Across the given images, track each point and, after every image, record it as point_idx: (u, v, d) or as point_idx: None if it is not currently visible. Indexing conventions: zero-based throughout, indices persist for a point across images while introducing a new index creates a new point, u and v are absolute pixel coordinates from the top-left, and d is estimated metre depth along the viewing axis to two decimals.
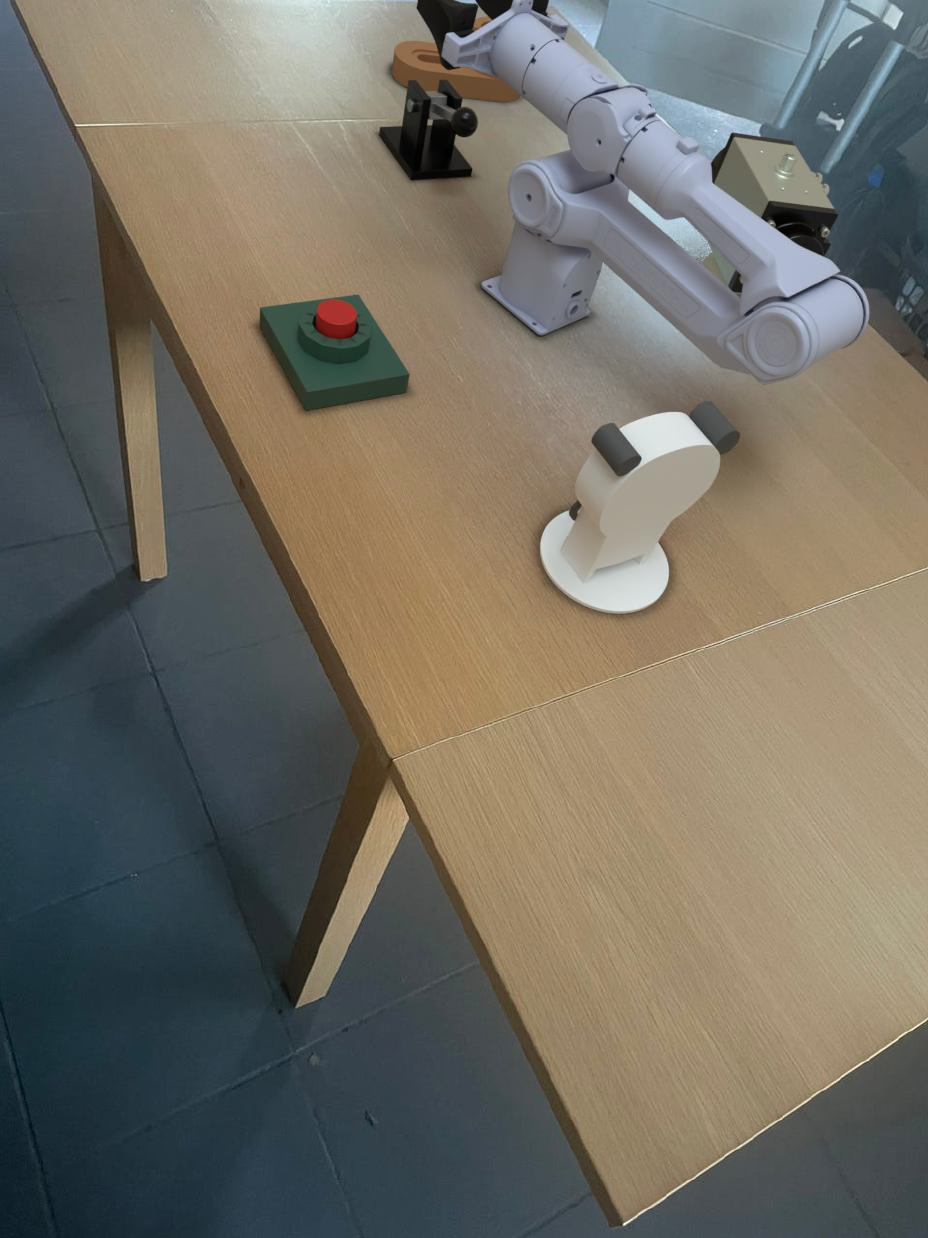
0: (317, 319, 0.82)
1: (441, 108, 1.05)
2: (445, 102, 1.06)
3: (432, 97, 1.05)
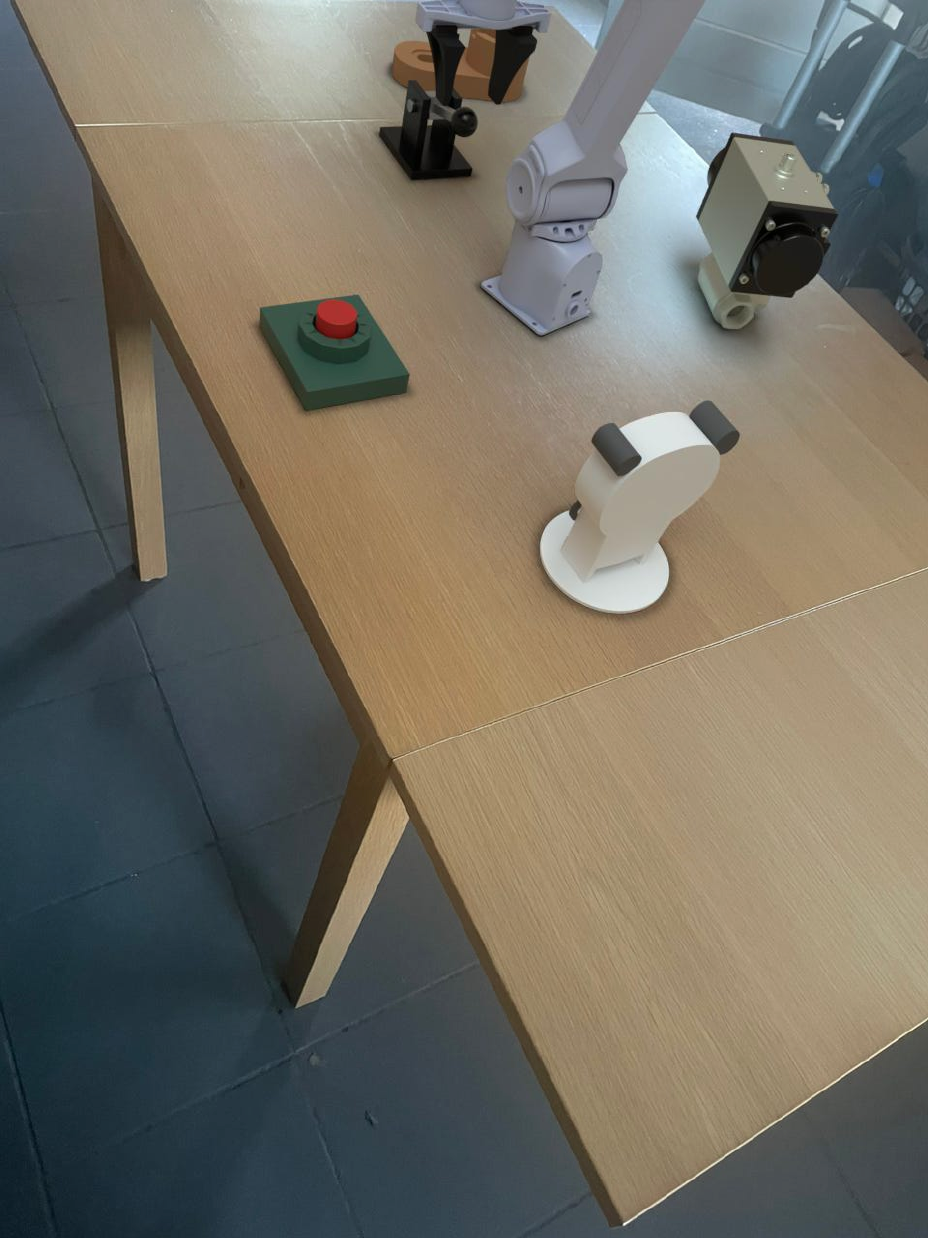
0: (317, 319, 0.82)
1: (441, 108, 1.05)
2: None
3: (432, 97, 1.05)
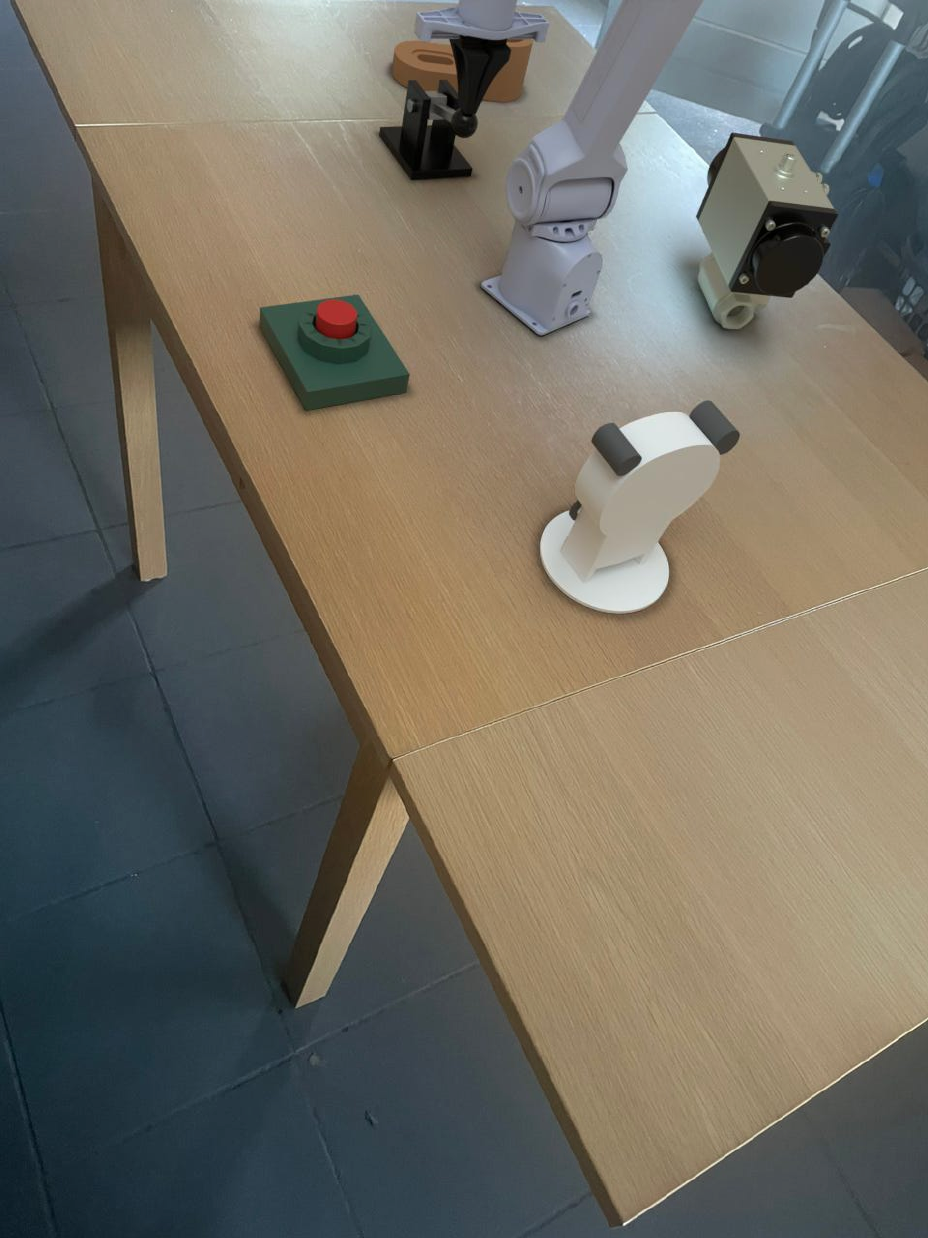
0: (317, 319, 0.82)
1: (441, 108, 1.05)
2: (445, 102, 1.06)
3: (432, 97, 1.05)
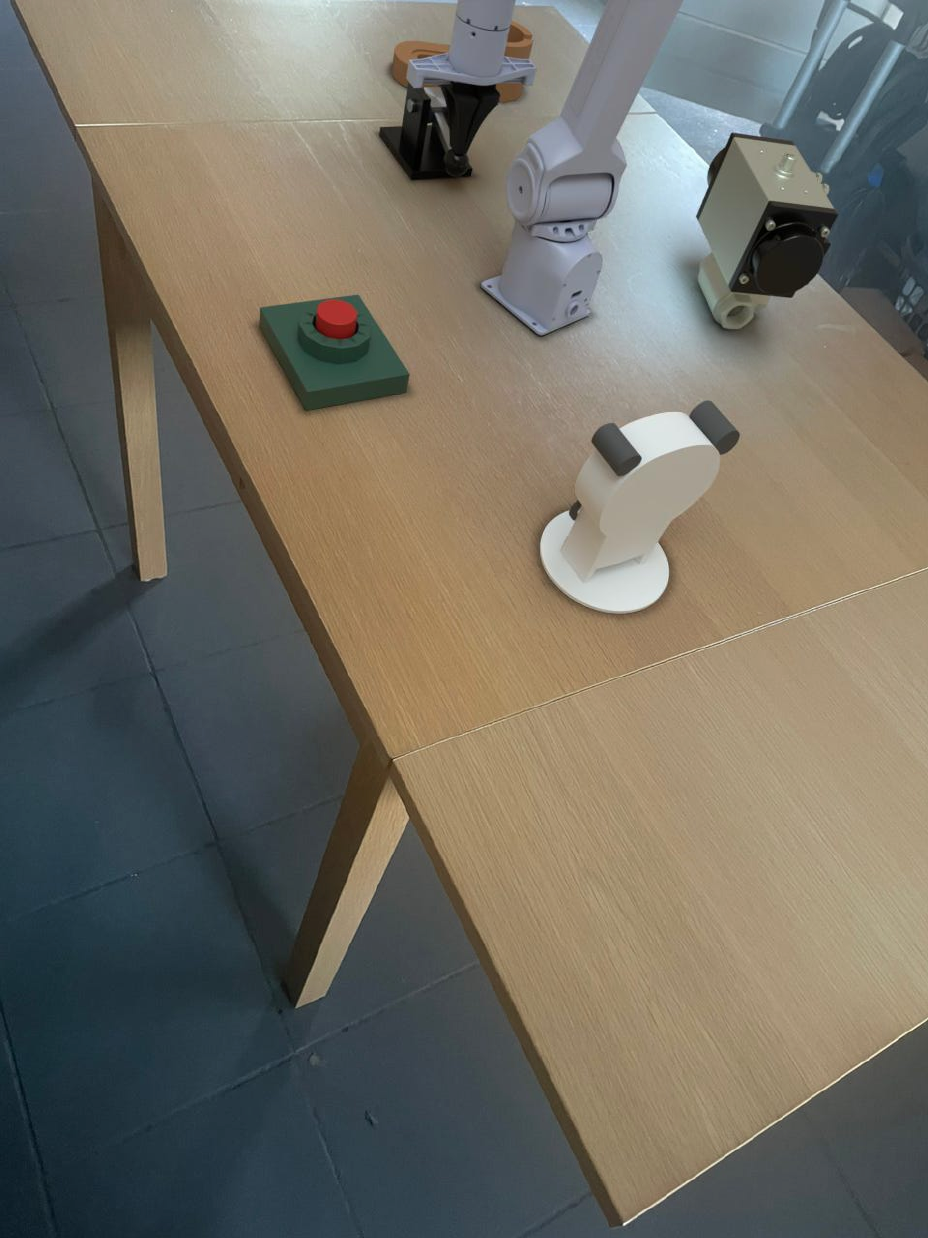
0: (317, 319, 0.82)
1: (439, 126, 1.06)
2: (445, 111, 1.07)
3: (433, 107, 1.06)
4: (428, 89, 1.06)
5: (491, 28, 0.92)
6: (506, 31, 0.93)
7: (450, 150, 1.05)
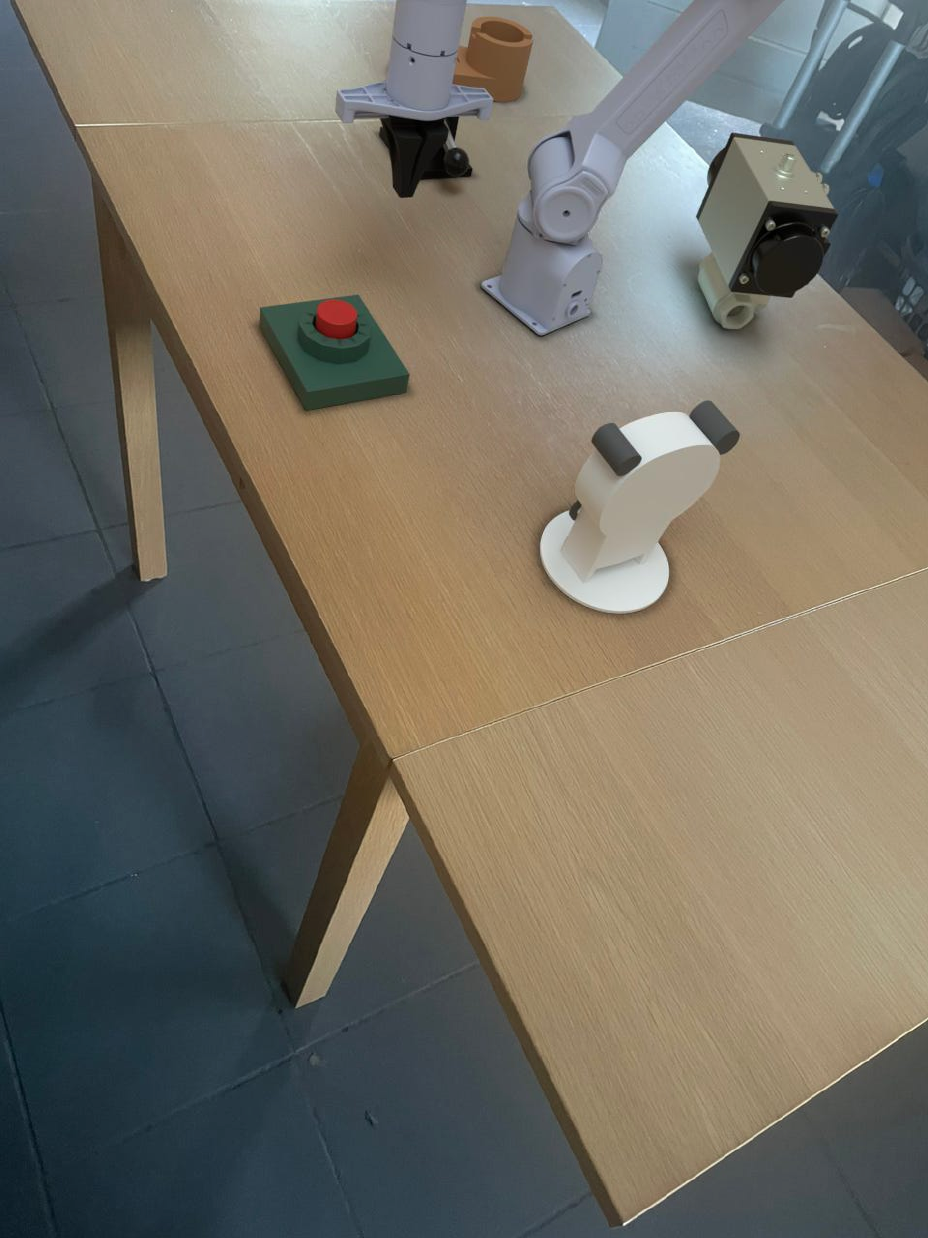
0: (317, 319, 0.82)
1: None
2: None
3: None
4: None
5: (457, 47, 0.78)
6: (452, 57, 0.78)
7: (450, 150, 1.05)
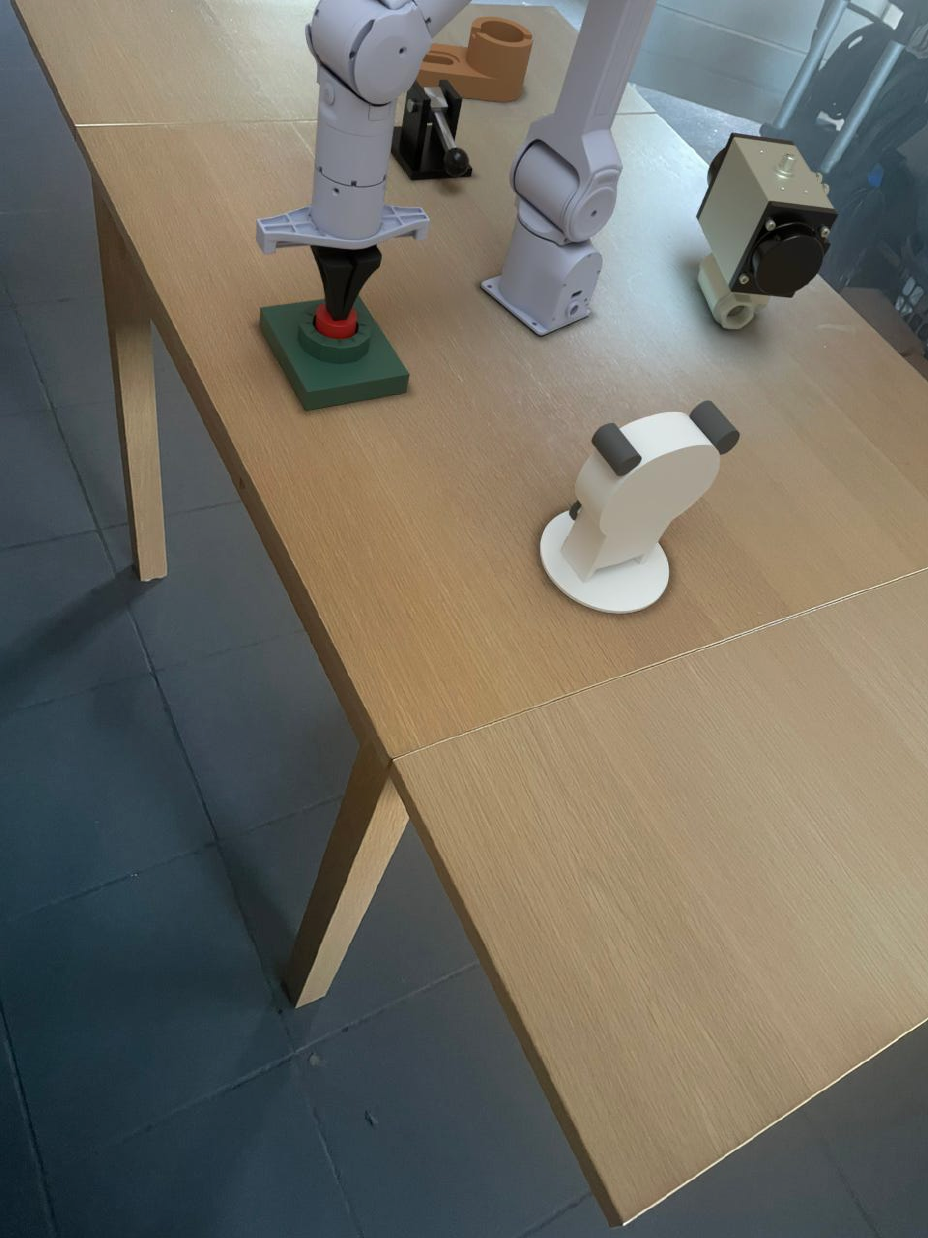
0: (317, 321, 0.82)
1: (439, 126, 1.06)
2: (445, 111, 1.07)
3: (433, 107, 1.06)
4: (428, 89, 1.06)
5: None
6: (381, 185, 0.72)
7: (450, 150, 1.05)
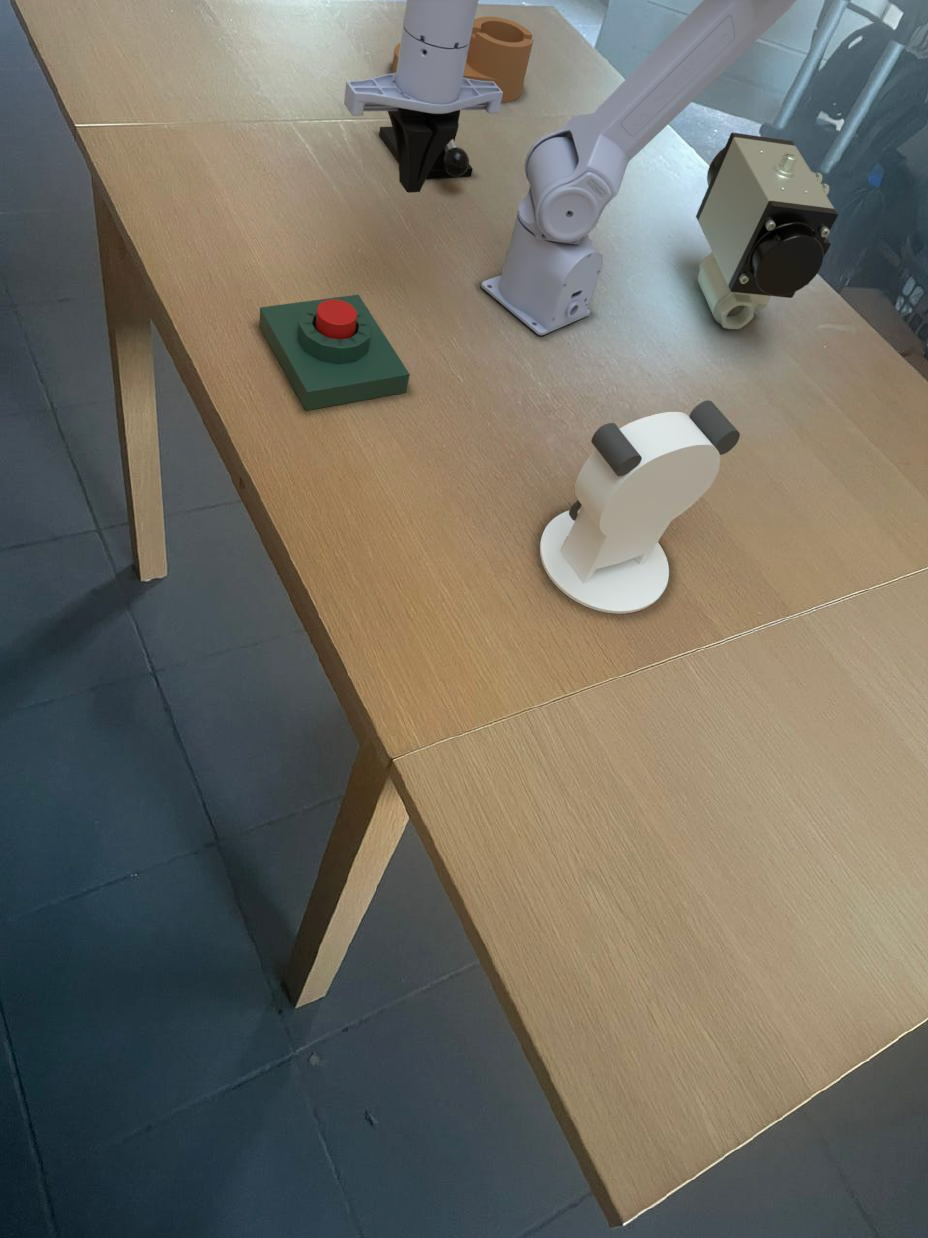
0: (317, 319, 0.82)
1: None
2: None
3: None
4: None
5: (469, 38, 0.77)
6: (465, 49, 0.77)
7: (450, 150, 1.05)
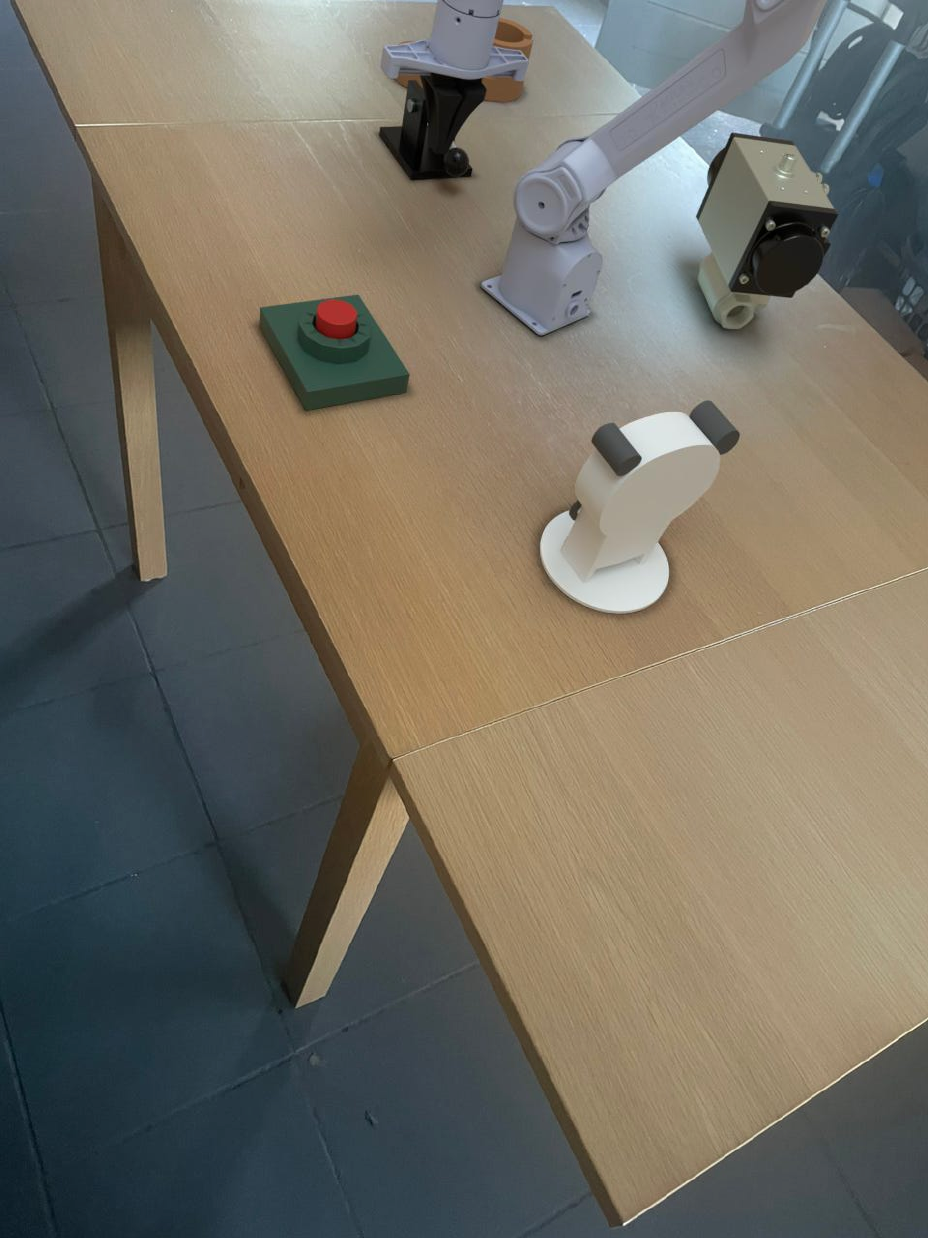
0: (317, 319, 0.82)
1: None
2: None
3: None
4: None
5: (494, 14, 0.81)
6: (496, 18, 0.82)
7: (450, 150, 1.05)
